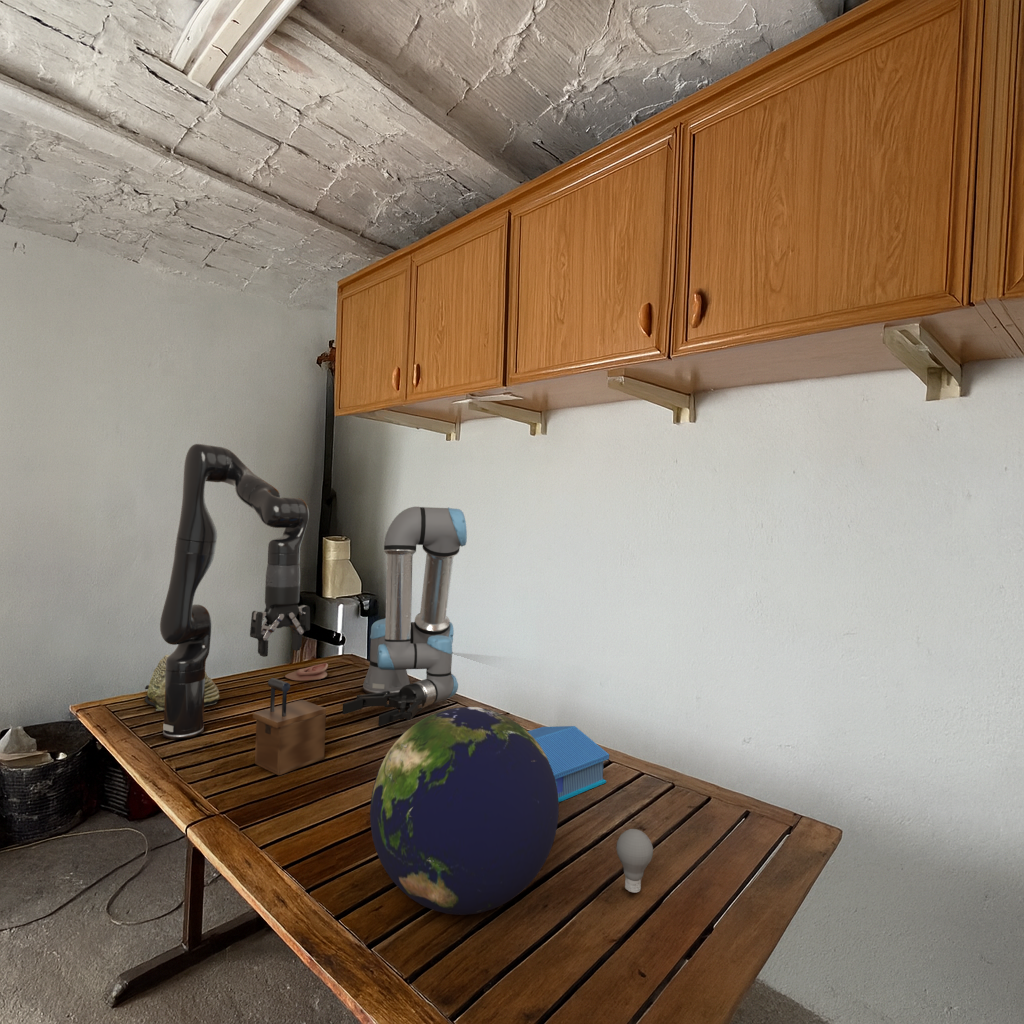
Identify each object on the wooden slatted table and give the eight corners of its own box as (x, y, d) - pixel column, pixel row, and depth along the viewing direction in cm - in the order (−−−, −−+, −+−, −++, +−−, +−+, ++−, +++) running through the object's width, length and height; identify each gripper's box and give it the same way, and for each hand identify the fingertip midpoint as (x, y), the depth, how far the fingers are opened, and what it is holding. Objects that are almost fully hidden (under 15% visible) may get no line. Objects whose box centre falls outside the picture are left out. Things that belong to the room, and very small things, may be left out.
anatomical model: (280, 667, 215) (298, 659, 227) (279, 678, 215) (297, 670, 227) (316, 671, 213) (332, 662, 224) (315, 682, 213) (332, 673, 224)
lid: (276, 728, 142) (278, 687, 142) (252, 718, 147) (254, 679, 147) (326, 713, 153) (327, 675, 152) (301, 704, 158) (303, 668, 158)
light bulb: (610, 879, 108) (613, 822, 108) (644, 879, 109) (647, 822, 109) (619, 902, 102) (622, 840, 102) (655, 901, 103) (658, 840, 103)
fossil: (144, 707, 182) (145, 655, 182) (212, 696, 194) (213, 647, 194) (151, 716, 175) (153, 662, 175) (221, 703, 188) (223, 653, 188)
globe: (325, 925, 94) (333, 724, 93) (426, 831, 121) (433, 676, 121) (512, 993, 82) (522, 765, 82) (577, 872, 110) (584, 701, 110)
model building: (485, 844, 118) (488, 791, 117) (412, 795, 136) (414, 749, 136) (617, 787, 144) (619, 743, 144) (541, 752, 162) (543, 713, 162)
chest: (278, 775, 143) (280, 727, 143) (254, 763, 148) (256, 717, 148) (324, 758, 153) (326, 713, 153) (300, 748, 158) (301, 704, 158)
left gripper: (264, 588, 139) (261, 661, 139) (318, 582, 150) (316, 650, 151) (245, 584, 143) (242, 655, 143) (299, 579, 155) (296, 645, 155)
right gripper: (449, 718, 177) (395, 740, 159) (385, 699, 190) (328, 718, 173) (450, 691, 176) (396, 711, 159) (386, 674, 190) (329, 690, 173)
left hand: (280, 652), depth 147 cm, fingers open, 8 cm apart
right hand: (361, 714), depth 166 cm, fingers open, 13 cm apart
